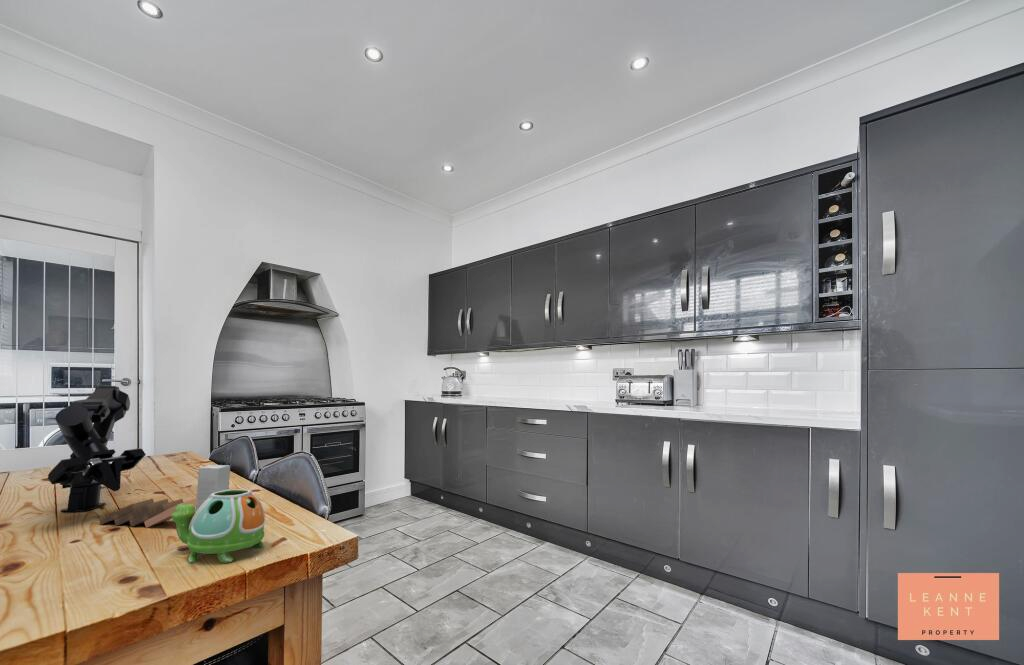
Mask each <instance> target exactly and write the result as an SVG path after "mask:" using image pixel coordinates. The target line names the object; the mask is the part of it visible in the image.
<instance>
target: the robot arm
mask: <svg viewBox="0 0 1024 665" xmlns="http://www.w3.org/2000/svg"><path fill="white" fill-rule="evenodd" d="M129 396H130V395H129V394H127V393H126V392H124V391H122V390H120V387H119V386H116V385H99V386H96V387H95V388H94V391H93V392H92V393H91V394H90V395H88V397H87V398H84V399H77V400H74V401H72V402H70V404H69V405H67V406H66V407H64V408H62V409H61V410H60V411H58V413H56V414H55V418H54V419H55V422H56V424H57V426H58V428H59V430H60V432H61V434H62V437H63V440H64V441H65V443H66V444H67V446H68V448H70V450H71V452H72V453H71V454H70V455H69V457H70V458H65V459H61V460H60V461H59V462H58V463H57V464H56V465H55V466H54V467H53V468H52V469H51V470H50V471H49V473H48V475H47V479H48V481H49V483H50V484H51V485H56V484H59V485H60V486H61V487H62V489H67V488H69V495H68V498H67V500H68V501H67V507H66V508H64V509H61V510H60V513H68V512H70V513H71V512H87V511H91V510H94V509H96V508H99V507H102V506H105V505H106V502H100V498H101V497H100V496H101V488H102V486H104V487H106V488H107V489H109V490H111V491H112V492H118V491H119V490H120V489H121V481H122V480H121V477H122V476H121V475H122V472H123V471H129V470H132V469H134V468H135V467H136V466H137V465H138V464H139V463H140V462H141V460H143V458H144V457H145V456H146V455H147V454H146V453H145V451H144V449H143V448H131V449H125V450H124V451H123V452H122V453H121V454H120V455H118V456H114V455H115V453H116V450H115V449H114V448H113V449H109V448H108V447H107V445H108V442H109V440H110V436H111V435H112V431H113V428H114V427H115V423H116V422H118V421H120V420H122V419H123V418H124V417H125V416H126V413H127V412H128V411H129V410H130V407H131V400H130V397H129Z"/></svg>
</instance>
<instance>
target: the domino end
mask: <svg viewBox="0 0 1024 665" xmlns="http://www.w3.org/2000/svg"><path fill="white" fill-rule="evenodd" d="M180 504H184V505H189V504H193V505H195V507H196V506H197V505H199V504H198V501H197V497H195V498H193V499H191V500H187V501H183V503H180ZM180 504H177V505H175V506H173V507H171V508H169V509H168V510H166V511H164V512H162V513H160V514H158V515H156V516H154V517H152V518H150V519H148V520H146V521H144V523H143V524H144V526H145V529H146V528H150V527H153V526H156V525H159V524H163V523H165V522H168V521H169V520H171V519H172V514H173V513H174V511H175V508H176V507H177V506H178V505H180Z"/></svg>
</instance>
